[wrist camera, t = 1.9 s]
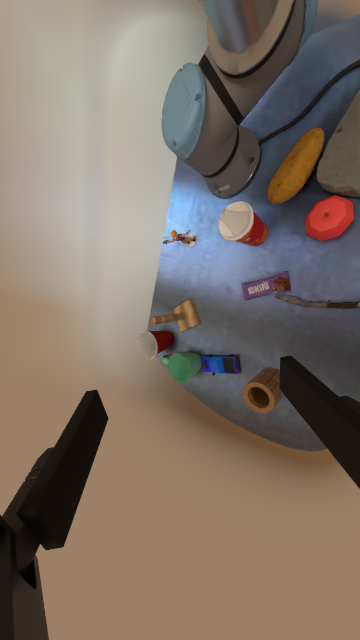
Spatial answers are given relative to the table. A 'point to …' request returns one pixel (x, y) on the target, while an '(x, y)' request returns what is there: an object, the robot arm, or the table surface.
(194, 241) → the action figure
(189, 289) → the table surface
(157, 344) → the plastic cup
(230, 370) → the toy car
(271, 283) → the snack package
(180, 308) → the towel stand
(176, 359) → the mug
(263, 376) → the wooden tube
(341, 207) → the apple
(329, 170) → the stone
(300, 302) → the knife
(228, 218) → the paper cup
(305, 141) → the potato
